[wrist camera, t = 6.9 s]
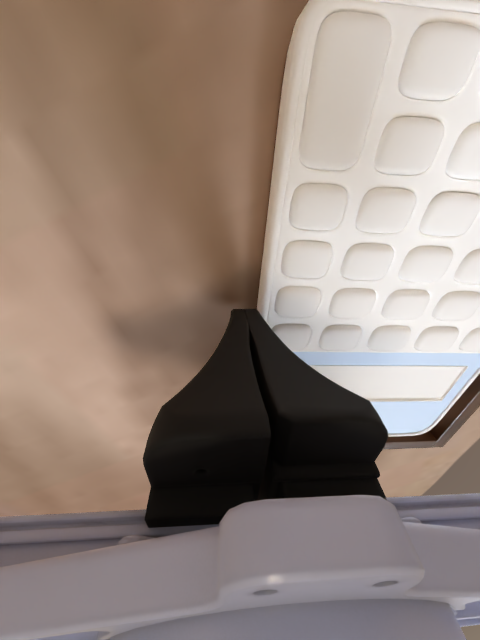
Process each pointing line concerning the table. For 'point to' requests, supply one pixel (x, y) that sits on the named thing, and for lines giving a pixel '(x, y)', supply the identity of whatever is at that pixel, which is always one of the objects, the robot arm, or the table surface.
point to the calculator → (380, 203)
